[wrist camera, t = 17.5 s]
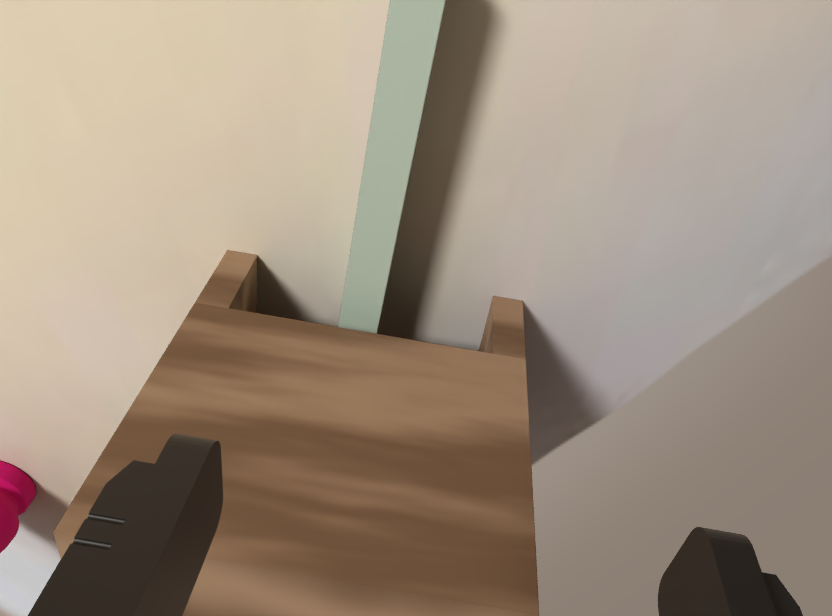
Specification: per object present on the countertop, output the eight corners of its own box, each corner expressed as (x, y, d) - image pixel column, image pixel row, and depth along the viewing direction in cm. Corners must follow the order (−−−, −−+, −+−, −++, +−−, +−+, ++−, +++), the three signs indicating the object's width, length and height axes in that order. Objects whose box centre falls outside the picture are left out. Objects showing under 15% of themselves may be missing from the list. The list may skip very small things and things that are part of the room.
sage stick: (408, -66, 33) (398, -53, 30) (457, -54, 33) (453, -40, 30) (347, 301, 47) (336, 337, 44) (382, 309, 47) (374, 345, 44)
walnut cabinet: (227, 250, 45) (52, 532, 27) (522, 301, 45) (539, 615, 27) (231, 380, 52) (95, 671, 34) (486, 424, 52) (480, 736, 35)
